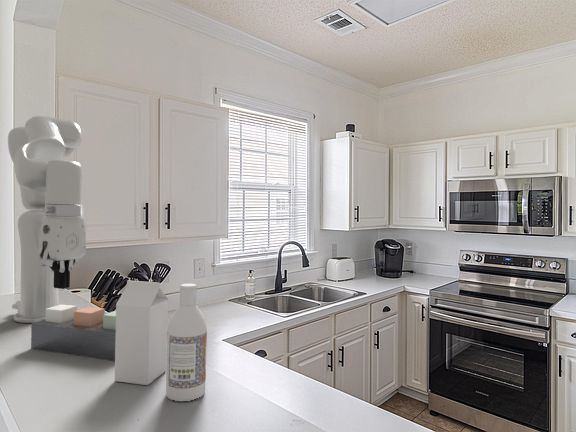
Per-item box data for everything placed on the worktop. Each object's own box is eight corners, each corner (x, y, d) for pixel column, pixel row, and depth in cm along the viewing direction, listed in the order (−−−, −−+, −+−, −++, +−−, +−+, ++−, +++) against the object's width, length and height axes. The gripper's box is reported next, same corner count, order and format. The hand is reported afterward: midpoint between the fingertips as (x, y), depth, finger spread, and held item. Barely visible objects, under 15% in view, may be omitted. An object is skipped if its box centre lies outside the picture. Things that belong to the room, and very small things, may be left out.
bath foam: (209, 399, 71) (212, 287, 71) (169, 406, 68) (172, 289, 68) (200, 383, 77) (202, 280, 77) (163, 389, 74) (165, 282, 74)
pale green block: (102, 341, 91) (103, 314, 90) (116, 335, 95) (116, 310, 95) (120, 343, 89) (120, 316, 89) (133, 337, 94) (133, 311, 94)
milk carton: (147, 386, 75) (149, 286, 75) (114, 381, 77) (116, 283, 76) (166, 371, 82) (168, 279, 82) (135, 367, 84) (137, 277, 83)
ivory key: (45, 333, 95) (45, 308, 94) (60, 328, 99) (61, 304, 99) (61, 336, 93) (61, 310, 93) (76, 330, 98) (76, 306, 98)
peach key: (73, 337, 93) (74, 311, 92) (87, 331, 97) (88, 306, 97) (90, 339, 91) (90, 313, 91) (104, 333, 96) (104, 308, 96)
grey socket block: (31, 349, 92) (31, 323, 92) (65, 335, 102) (65, 312, 102) (116, 361, 87) (117, 333, 87) (144, 346, 96) (144, 321, 96)
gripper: (50, 213, 87) (48, 296, 88) (98, 212, 102) (96, 283, 103) (23, 211, 89) (21, 292, 90) (74, 211, 104) (72, 281, 104)
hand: (61, 287), depth 96 cm, fingers closed
